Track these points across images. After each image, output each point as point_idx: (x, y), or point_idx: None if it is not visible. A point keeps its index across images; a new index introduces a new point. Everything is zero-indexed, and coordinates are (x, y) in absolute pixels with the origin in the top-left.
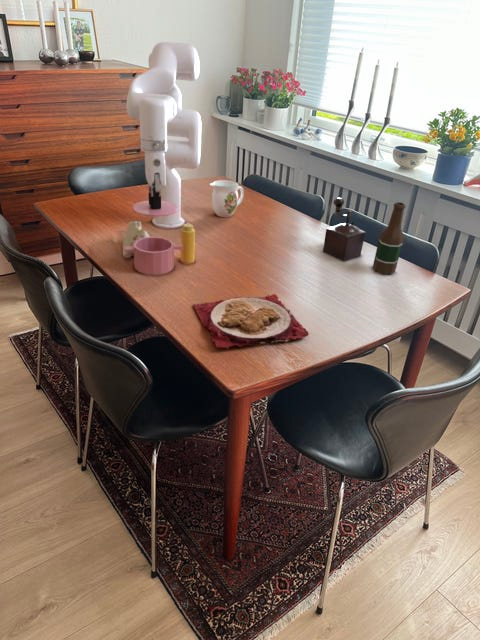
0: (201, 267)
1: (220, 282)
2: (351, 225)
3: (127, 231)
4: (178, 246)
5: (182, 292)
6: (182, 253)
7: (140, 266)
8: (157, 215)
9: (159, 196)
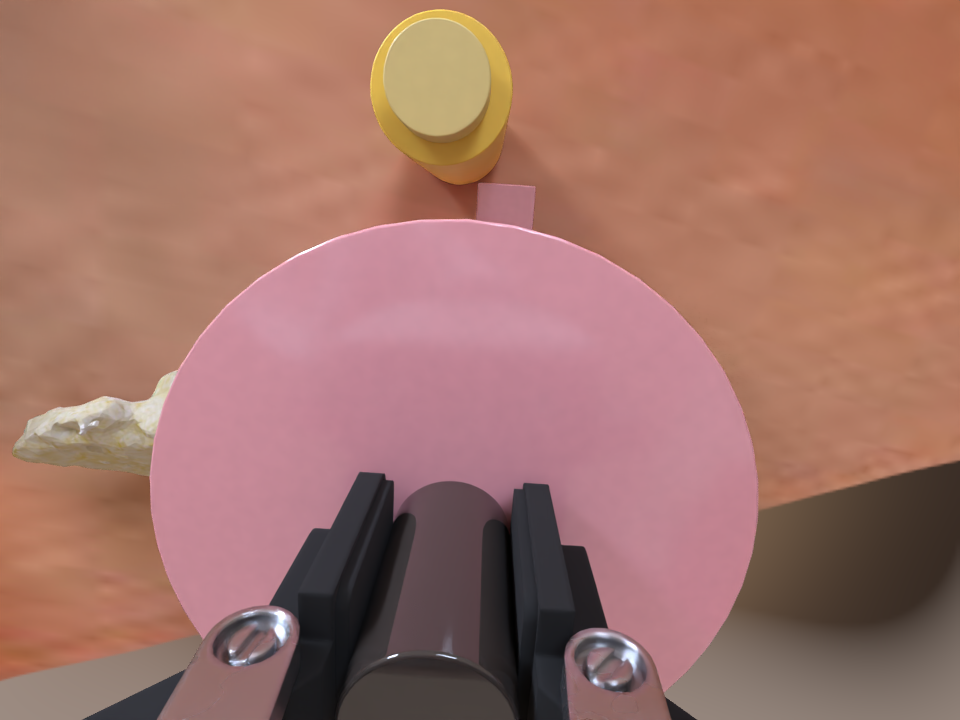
0: (560, 66)
1: (797, 6)
2: None
3: (128, 471)
4: (531, 217)
5: (824, 276)
6: (479, 173)
7: None
8: (748, 561)
9: (622, 655)
